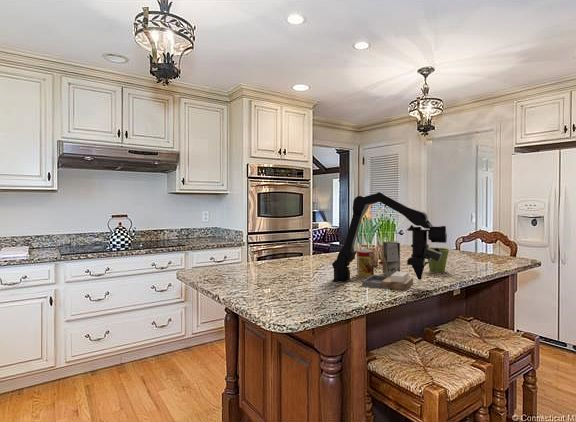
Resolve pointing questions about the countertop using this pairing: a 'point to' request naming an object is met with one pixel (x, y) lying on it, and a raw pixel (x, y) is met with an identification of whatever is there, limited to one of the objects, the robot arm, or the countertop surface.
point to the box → (374, 281)
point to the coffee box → (391, 257)
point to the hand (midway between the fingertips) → (419, 279)
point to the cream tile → (399, 276)
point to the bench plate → (397, 283)
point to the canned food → (365, 263)
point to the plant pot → (441, 264)
